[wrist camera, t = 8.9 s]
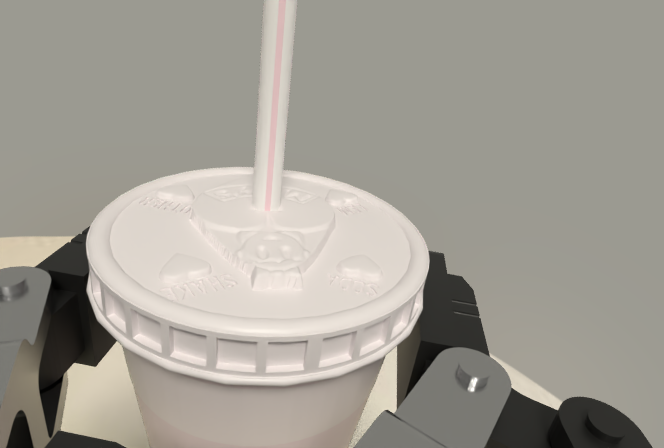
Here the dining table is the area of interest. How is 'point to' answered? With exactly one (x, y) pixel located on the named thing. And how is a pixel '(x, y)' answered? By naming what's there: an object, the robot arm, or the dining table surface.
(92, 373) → the dining table surface
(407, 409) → the robot arm
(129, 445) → the dining table surface
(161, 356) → the smoothie
